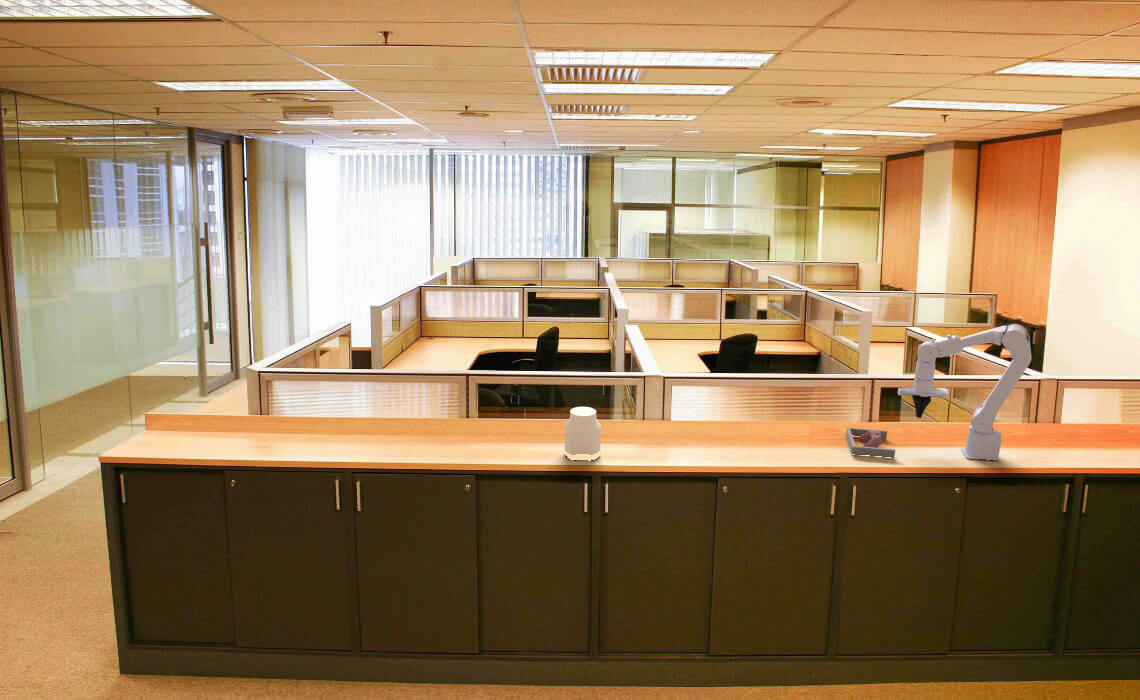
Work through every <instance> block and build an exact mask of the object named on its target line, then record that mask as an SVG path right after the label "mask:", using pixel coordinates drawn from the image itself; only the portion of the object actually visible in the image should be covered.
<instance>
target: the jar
mask: <svg viewBox="0 0 1140 700" xmlns="http://www.w3.org/2000/svg"><path fill="white" fill-rule="evenodd" d="M569 413H570V414H569V419H568V420H567V421H566V422H565V424H564V451H566V452H567V453H569V454H571V455H576V454H589V455H593V454H596V453H598V452H599V451H601V434H602V432H601V431H602V424H601V423H600V422H599V420H598V419H597V409H594V408H592V407H590V406H589V407H588V406H577V407H573V408H571V409H570V411H569Z"/></svg>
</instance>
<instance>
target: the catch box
mask: <svg viewBox="0 0 1140 700" xmlns="http://www.w3.org/2000/svg"><path fill="white" fill-rule="evenodd" d="M846 428H847V431H846V430H845V437H846V441H847V445H848V448H849V452H850V455H851V454H855V455H870V456H882V457H891V458H894V459H895V457H896V456H895V455H896V449H894V448H884V447H876V448H874V447H863V446H864V445H863V446H860V445H856V443H855V440H854V439H855V438H854V437H853V436H852V435H854V436H861V435H863V434H865V433H867V432H868V431H869V430H871V428H862V427H861V428H860V427H859V428H857V427H847V426H846ZM877 430H878V431H880V433H881V438H882V441H886V440H887V436H888V430H885V429H883V430H881V429H877Z"/></svg>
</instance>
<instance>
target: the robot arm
mask: <svg viewBox="0 0 1140 700" xmlns="http://www.w3.org/2000/svg"><path fill="white" fill-rule="evenodd" d="M988 343H992V344H994V345H997V346H1000V347H1001V344H1002V346H1004V347H1005V348H1006V350H1008V352H1009V354H1010V356H1011V358H1012V360H1011V361H1010V362H1009V364H1008V366H1007V368H1005V371H1004V372H1003V373H1002V375H1001V376H1000V378H999V380H998V381H997V383H996V384H995V386H994V387H993V389H992V390H991V392H990V394H989V395H988V397H987V398H986V399H985V400H984V402H983V403H982V404H981V405H979V406H978V407H976V408H975V409H974V411H973V416H972V418H971V419H970V424H969V426H968V432H967V437H966V445H965V447H961V448H960V449H961V451H962V452H963V454H964V456H965V457H966V459H970V460H978V459H986V460H985V461H989V460H999V456H1000V451H1001V445H1002V434H1001V432H1000V431H999V430H996V429H995V428H993V426H994V421H995V419H996V417H997V415H998V413H999V411H1000V409H1001V408H1002V406H1003V405H1004V403H1005V401H1006V400H1007V399H1008V397H1009V396H1010V394H1011V393H1012V391H1013V389H1014V388H1015V387H1016V385H1017V384H1018V382H1019V381H1020V379H1021V378H1022V376H1023V374H1024V373H1025V372H1026V370H1027V368H1028V367H1029V366H1030V364H1031V362H1032V352H1031V351H1032V349H1031V339H1030V335H1029V333H1028V332H1027V329H1026V327H1025V326H1023V325H1021V324H1018V323H1013V324H1009V325H1008V326H1007V325H1001V326H997V327H994V328H989V329H987V330H984V331H980V332H979V331H978V332H977V333H974V334H969V335H967V336H962V337H961V336H958V335H956V334H954V335H952V334H951V333H950V334H948V335H946V337H944V338H939V339H935V338H933V339H931V341H930V340H929V341H928V340H927V341H924V342H922V343H921V344H920V345H919V347H918V349H917V352H916V353H917V360H916V365H915V371H914V378H913V386H912V387H904V388H903V387H898V389H897V395H898V396H901V397H902V396H911V398H912V401H913V404H914V409H915V417H916V418H917V419H922V416H923V414H924V412H925V410H926V408H927V407H928V405H930V403H931V402H932V398H939V399H942V400H946V398H947V392H946V391H943V390H936V389H933V387H934V386H933V385H934V378H935V373H936V372H935V371H936V359H937V358H943V357H944V358H945V357H948V356H951V355H956V354H960V353H962V352H963V350H964V349H965V348H969V347H973V346H978V345H982V344H988ZM987 459H988V460H987ZM999 461H1000V460H999Z"/></svg>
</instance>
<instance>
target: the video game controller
mask: <svg viewBox="0 0 1140 700" xmlns="http://www.w3.org/2000/svg"><path fill="white" fill-rule="evenodd" d="M870 429H871V428H870ZM878 430H879V429H876V428H872V429H871V430H869V431H868V432H867V433H865V434H863V435H861V436H860V438H858V440H859V441H860V442H863V443H864V442H867V441H868V442H867V443H864V444H863V447H874V448H879V446H881V445H882V441H883V440H882V438H881V433H880V431H878Z"/></svg>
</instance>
